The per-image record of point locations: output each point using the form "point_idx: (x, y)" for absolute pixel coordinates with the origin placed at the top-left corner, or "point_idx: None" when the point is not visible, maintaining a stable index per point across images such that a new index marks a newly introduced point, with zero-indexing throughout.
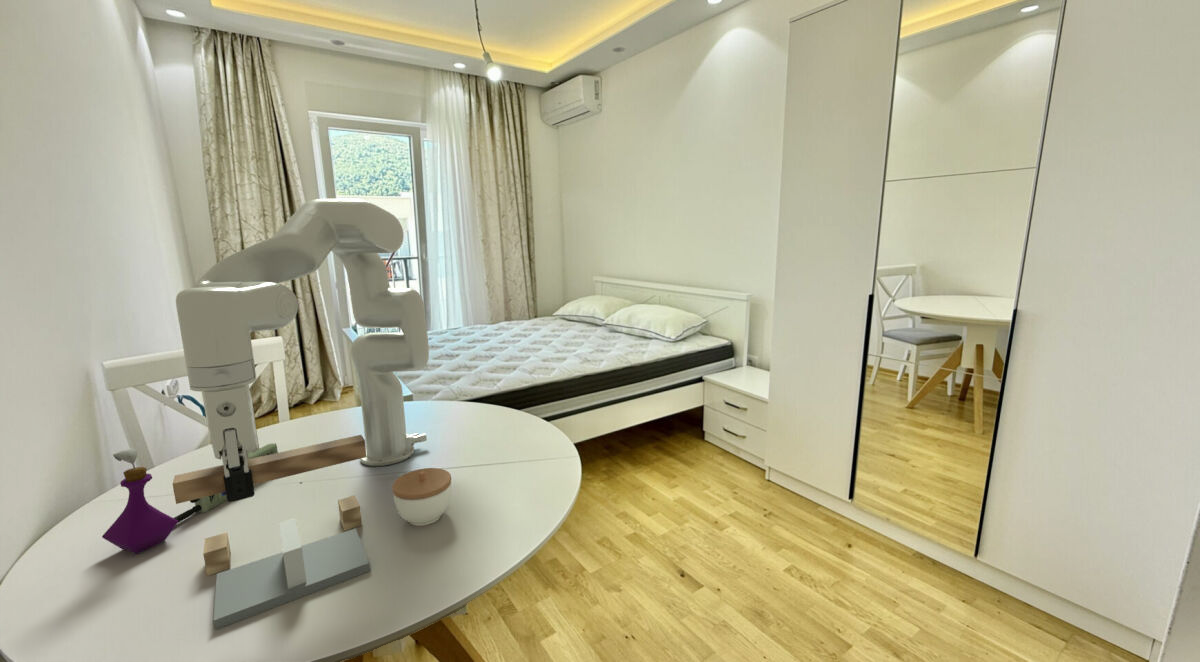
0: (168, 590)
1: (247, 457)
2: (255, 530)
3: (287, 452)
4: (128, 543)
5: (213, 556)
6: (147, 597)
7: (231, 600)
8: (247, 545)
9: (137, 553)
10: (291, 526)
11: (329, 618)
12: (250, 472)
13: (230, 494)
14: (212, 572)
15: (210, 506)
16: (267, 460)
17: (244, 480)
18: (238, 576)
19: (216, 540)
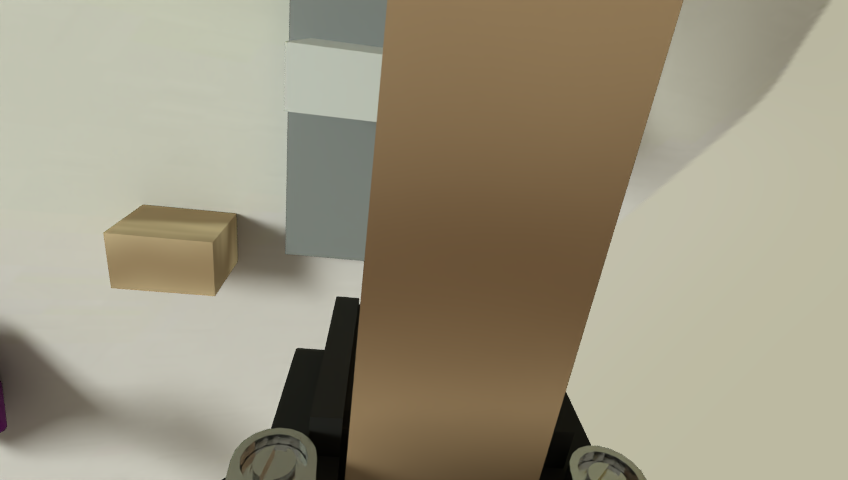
0: (248, 329)
1: (312, 467)
2: (19, 126)
3: (446, 126)
4: (1, 430)
5: (219, 266)
6: (249, 360)
7: None
8: (120, 160)
9: (1, 384)
10: (359, 74)
11: (677, 47)
12: (571, 427)
13: None
14: (235, 252)
15: None
16: (525, 336)
17: (584, 433)
18: (341, 212)
19: (147, 262)
